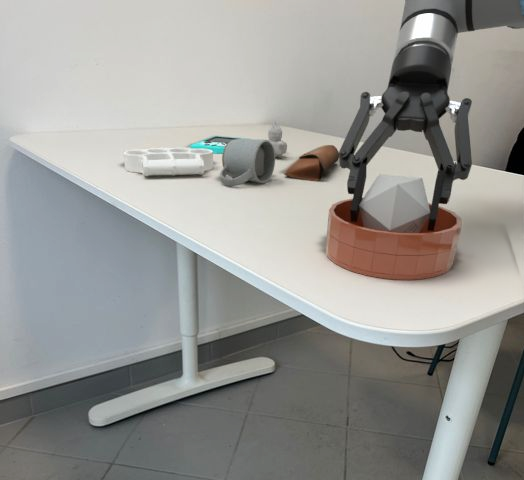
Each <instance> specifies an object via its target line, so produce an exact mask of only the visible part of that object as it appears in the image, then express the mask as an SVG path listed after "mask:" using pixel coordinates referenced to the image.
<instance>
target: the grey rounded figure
mask: <svg viewBox="0 0 524 480" xmlns="http://www.w3.org/2000/svg"><path fill="white" fill-rule="evenodd" d="M267 137H268V139H267V140H268V141H270V142H271V144H272V145H273V148H274V152H275V158H280V157H282V156H283V155H285V154H286V153H287V150H288V144H287V142H285V141H284V140H282V138H283V129H282V128H281V125H280V124H277V122H276V120H274V121H273V124H271V126H270V128H269V130H268V134H267Z"/></svg>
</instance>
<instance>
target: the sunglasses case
mask: <svg viewBox="0 0 524 480" xmlns="http://www.w3.org/2000/svg"><path fill="white" fill-rule="evenodd" d="M337 162H339V150H338V148H337V147H336V146H335V145H333V144H325V145H321V146H319V147H315V148H314V149H311V150H310V151H307V152H305V153H303V154H301V155H300V156H299V158H298V160H296V161H294V162H293V163H292V164H291V165H290V166H289V167H288V168H287V169H286V170H285V172H284V173H283V175H285V176H287V177H289V178H292V179H297V180H302V181H312V182H319V181H321V180H322V179H323V178H324V177H326V175H327V173H328V172H329V171H330V169H331V168H332V167H333V166H334V165H335V164H336V163H337Z"/></svg>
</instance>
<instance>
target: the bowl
mask: <svg viewBox="0 0 524 480" xmlns="http://www.w3.org/2000/svg"><path fill="white" fill-rule="evenodd" d="M363 198H364V196H362V199H363ZM352 200H353V198H349V199H343V200H340V201H337V202H335V203H333V204H332V205H331V206H330V208H329V209H328V214H327V215H328V216H327V225H326V227H327V228H326V237H325V254H326V256H327V258H328V259H329V260H330V261H331V262H332V263H333V264H334V265H337V266H338V267H341V269H342V268H343V269H345V270H347V271H349V272H353V273H356V274H360V275H363V276H368V277H373V278H377V279H378V278H379V279H386V280H399V281H413V280H414V281H415V280H425V279H430V278H431V279H432V278H436V277H439V276H441V275H444V274H446V273H448V272H449V271H450V270H451V268H452V267H453V263H454V262H455V256H456V253H457V248H458V243H459V239H460V234H461V230H462V225H463V222H462V221H463V220H462V217H460V216H459V215H458V214H457V213H456V212H454V211H452V210H450V209H447V208H445V207H443V206H440V205H439V207H438V212H437V218H436V223H435V227H434V231H429V230H427V228H428V222H429V217H428V219H427V221H426V222H425V224H424V226H423V227H422V229H421V231H420V232H419V233H396V232H387V231H379V230H374V229H369V228H365V227H364V225H363V221H362V216H361V212H360V210H359V214H358V219H357V222H352V221H351V214H350V209H351V205H352ZM361 201H362V200H361ZM428 204H429V209H430V211H431V205H432V203H429V202H428ZM429 216H430V215H429Z"/></svg>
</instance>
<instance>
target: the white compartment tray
mask: <svg viewBox="0 0 524 480" xmlns="http://www.w3.org/2000/svg"><path fill="white" fill-rule="evenodd" d="M123 163H124V170H125V171H126V172H130V173H138V174H142V176H144V177H150V176H182V175H199V176H202V175H204V174H205V172H206V171H210V170H213V169H214V153H213V151H212V150H209V149H202V148H200V149H190V147H189V148H187V147H151V148H144V149H142V148H141V149H127V150H125V151H124V152H123Z"/></svg>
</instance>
